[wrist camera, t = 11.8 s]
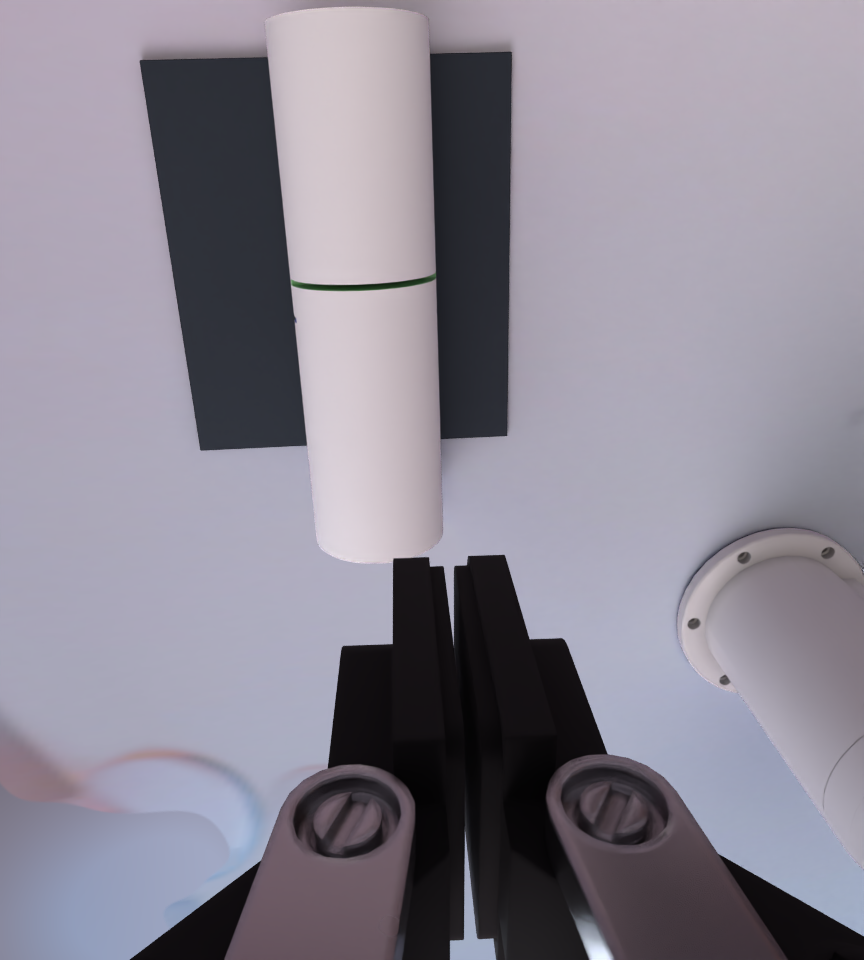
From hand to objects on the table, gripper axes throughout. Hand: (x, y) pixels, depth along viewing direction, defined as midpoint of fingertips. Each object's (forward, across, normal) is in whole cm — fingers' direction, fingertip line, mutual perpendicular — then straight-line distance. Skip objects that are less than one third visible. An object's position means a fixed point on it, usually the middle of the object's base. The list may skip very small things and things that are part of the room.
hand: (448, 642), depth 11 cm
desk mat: (+33, +4, -2) cm, 33 cm away
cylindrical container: (+29, +2, -13) cm, 32 cm away
